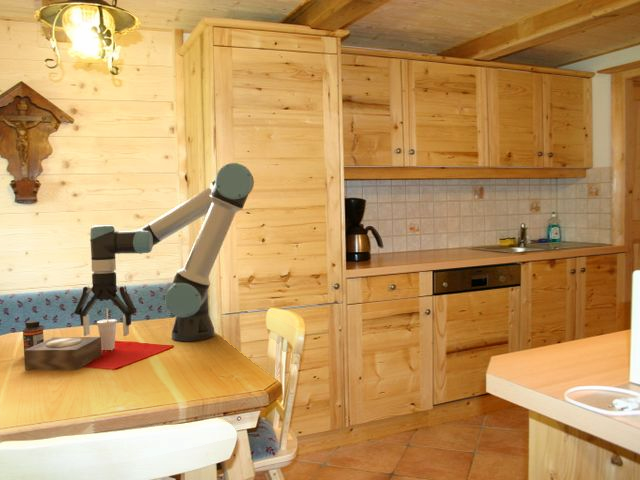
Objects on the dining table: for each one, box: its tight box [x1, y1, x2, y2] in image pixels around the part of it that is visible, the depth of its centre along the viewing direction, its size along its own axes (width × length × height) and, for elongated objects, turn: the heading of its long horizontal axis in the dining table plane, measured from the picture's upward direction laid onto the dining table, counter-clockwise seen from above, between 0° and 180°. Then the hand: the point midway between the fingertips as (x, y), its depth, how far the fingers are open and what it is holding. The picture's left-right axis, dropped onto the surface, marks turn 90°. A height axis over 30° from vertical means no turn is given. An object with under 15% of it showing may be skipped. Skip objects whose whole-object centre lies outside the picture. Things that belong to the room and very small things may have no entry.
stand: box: [23, 336, 103, 371], centre depth 176 cm, size 16×16×6 cm
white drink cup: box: [96, 307, 118, 352], centre depth 191 cm, size 6×6×14 cm
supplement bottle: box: [22, 319, 45, 351], centre depth 186 cm, size 6×6×11 cm
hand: (106, 335), depth 191 cm, fingers open, 13 cm apart
